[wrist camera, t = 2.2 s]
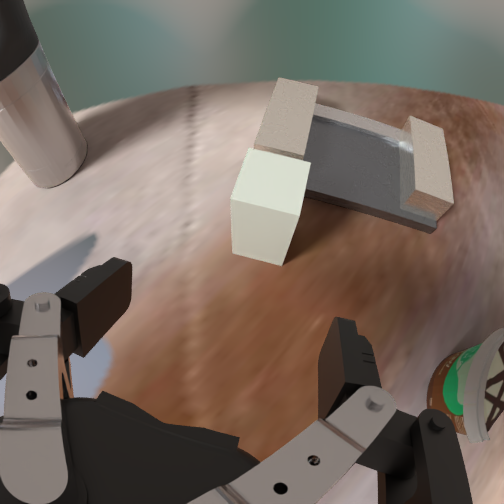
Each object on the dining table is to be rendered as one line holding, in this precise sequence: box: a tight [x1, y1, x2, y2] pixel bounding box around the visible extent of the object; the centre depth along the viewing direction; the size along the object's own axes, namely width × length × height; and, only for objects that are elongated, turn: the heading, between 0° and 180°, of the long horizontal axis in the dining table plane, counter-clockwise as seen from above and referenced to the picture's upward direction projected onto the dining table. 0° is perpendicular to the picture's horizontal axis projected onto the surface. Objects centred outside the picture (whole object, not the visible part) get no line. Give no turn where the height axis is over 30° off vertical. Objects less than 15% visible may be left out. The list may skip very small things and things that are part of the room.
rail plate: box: [254, 78, 454, 234], centre depth 34 cm, size 22×14×6 cm, turn 75°
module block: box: [230, 148, 311, 266], centre depth 28 cm, size 5×5×10 cm
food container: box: [427, 328, 504, 443], centre depth 23 cm, size 12×6×10 cm, turn 123°
